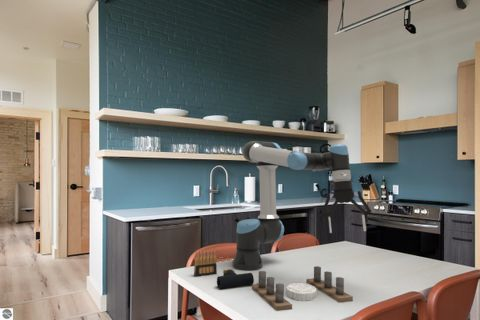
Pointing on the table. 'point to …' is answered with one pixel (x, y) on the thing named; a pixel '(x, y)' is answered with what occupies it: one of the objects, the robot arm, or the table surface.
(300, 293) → the mooncake
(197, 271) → the ammunition clip
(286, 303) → the rails
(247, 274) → the pipe connector
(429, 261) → the table surface
